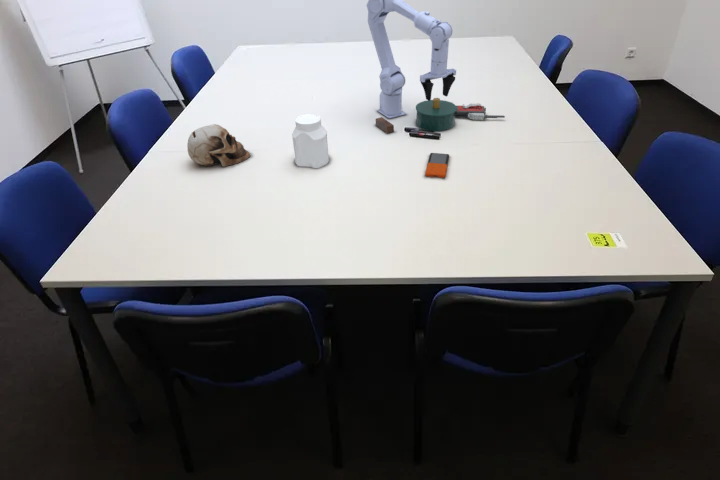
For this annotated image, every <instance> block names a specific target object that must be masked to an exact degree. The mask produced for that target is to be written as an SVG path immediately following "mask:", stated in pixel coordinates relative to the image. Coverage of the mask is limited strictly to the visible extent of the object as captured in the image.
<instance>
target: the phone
mask: <svg viewBox="0 0 720 480" xmlns="http://www.w3.org/2000/svg"><path fill="white" fill-rule="evenodd" d="M449 160H450V154H448V153H440V152H439V153H438V152H430V154H429V157H428V161H427V164H426V168H425V172H424V176H425V177H427V178H428V177H429V178H440V179H445V178H446V175H447V171H448V165H449Z"/></svg>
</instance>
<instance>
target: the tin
mask: <svg viewBox="0 0 720 480" xmlns="http://www.w3.org/2000/svg"><path fill="white" fill-rule="evenodd" d="M415 117H416V119H415V124H416V126H417V127H418V128H419V129H421V130H424V131H427V132H444V131H448V130H450V129H452V128H453V127H454V125H455V120H456V119H455V118H456V117H455V113H453V114H451V115H447V116H440V117H434V116H426V115H423V114H420V113H419V112H417V111H416V116H415Z"/></svg>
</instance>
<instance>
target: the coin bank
mask: <svg viewBox="0 0 720 480" xmlns="http://www.w3.org/2000/svg"><path fill="white" fill-rule="evenodd" d="M236 139H237V138H236V136H234V135H232V134H230V132H229V130H227V129H226V128H224V127H222V126H221V125H219V124H217V123H213V124H209V125H204V126H201V127H199V128H196V129H195V130H194V131H192V132H191V134H189V136H188V139H187V147H186V148H187V154H188V156H189V158H190V159H191V161H193V162H195V163H196V164H198V165H200V166H205V167H210V166H214V165H217V164H220V165H221V167H224V168H225V167H227V166H233V165H236V164H239V163H243V162H245V161H246V160H247V159H248V158H251V153H250V152H249V150H246V149H245V147H244V144H242V142H240V141H238V140H236Z"/></svg>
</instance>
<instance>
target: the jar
mask: <svg viewBox="0 0 720 480" xmlns="http://www.w3.org/2000/svg"><path fill="white" fill-rule="evenodd" d="M294 121H295V127H294V129H293V131H292V132H291V138H292V143H293V144H292V145H293V152H294V162H295V164H296V166H297V167H300V168H301V167H303V168H304V167H305V168H307V167H308V168H313V169H319V168H322V167H325V166H326V165H327V164H328V163H329V162H330V155H329V144H328V131H327V129H326V128H325V127H324V126H323V124H322V118H321V116H320V115H318V114H316V113H315V114H313V113H305V114H301V115H299V116H297V117H296V118H295V120H294Z"/></svg>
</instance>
